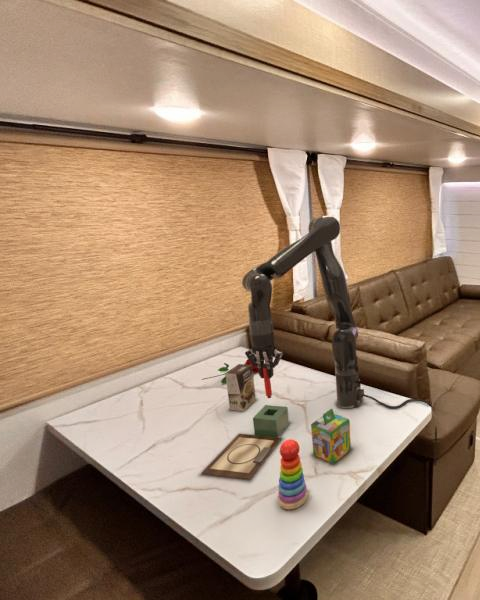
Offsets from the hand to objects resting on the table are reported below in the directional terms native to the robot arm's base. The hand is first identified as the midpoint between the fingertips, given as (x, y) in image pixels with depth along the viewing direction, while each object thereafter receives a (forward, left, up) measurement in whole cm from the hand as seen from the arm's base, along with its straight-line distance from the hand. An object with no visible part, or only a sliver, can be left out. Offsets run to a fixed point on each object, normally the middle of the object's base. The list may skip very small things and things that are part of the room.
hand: (266, 377), depth 130 cm
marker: (0, 0, -8) cm, 8 cm away
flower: (+37, -36, -21) cm, 56 cm away
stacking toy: (-22, +30, -21) cm, 43 cm away
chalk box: (-26, +9, -21) cm, 35 cm away
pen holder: (0, 0, -21) cm, 21 cm away
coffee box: (+20, -14, -21) cm, 32 cm away
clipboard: (+2, +15, -21) cm, 26 cm away
